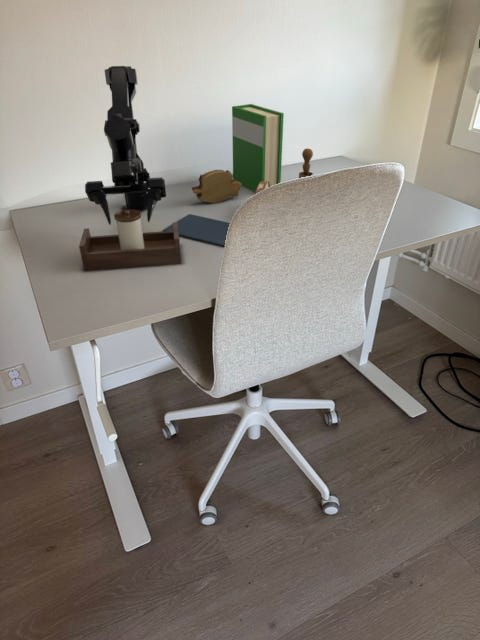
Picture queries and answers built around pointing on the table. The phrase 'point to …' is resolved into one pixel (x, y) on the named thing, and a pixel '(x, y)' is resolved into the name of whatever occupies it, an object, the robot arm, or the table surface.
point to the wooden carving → (217, 186)
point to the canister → (129, 229)
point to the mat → (202, 229)
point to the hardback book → (256, 145)
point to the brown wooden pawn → (306, 163)
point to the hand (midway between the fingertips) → (129, 222)
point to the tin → (262, 186)
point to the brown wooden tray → (130, 251)
